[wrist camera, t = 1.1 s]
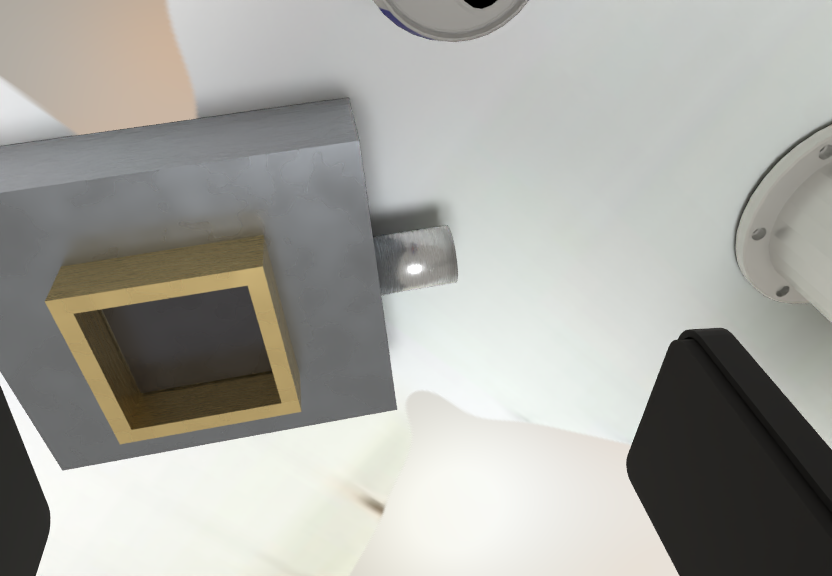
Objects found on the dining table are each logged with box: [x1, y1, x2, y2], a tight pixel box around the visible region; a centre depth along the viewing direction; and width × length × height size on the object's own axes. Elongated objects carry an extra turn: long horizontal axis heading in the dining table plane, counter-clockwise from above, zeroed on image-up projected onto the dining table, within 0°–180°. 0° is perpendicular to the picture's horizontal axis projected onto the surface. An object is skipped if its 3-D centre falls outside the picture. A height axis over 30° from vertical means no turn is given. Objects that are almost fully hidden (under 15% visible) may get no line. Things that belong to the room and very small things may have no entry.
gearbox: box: [0, 98, 458, 470], centre depth 32 cm, size 22×16×8 cm
